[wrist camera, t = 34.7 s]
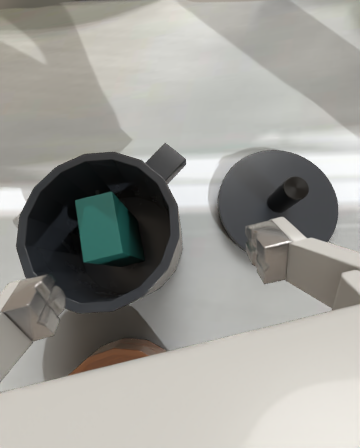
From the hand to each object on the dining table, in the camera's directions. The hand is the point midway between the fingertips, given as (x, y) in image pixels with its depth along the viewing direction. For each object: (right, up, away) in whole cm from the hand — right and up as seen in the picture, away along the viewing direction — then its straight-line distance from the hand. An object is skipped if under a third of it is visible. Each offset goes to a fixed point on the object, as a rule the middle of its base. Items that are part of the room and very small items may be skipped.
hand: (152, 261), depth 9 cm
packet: (-5, -1, +16) cm, 17 cm away
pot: (-5, -1, +17) cm, 18 cm away
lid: (+12, +4, +17) cm, 21 cm away
